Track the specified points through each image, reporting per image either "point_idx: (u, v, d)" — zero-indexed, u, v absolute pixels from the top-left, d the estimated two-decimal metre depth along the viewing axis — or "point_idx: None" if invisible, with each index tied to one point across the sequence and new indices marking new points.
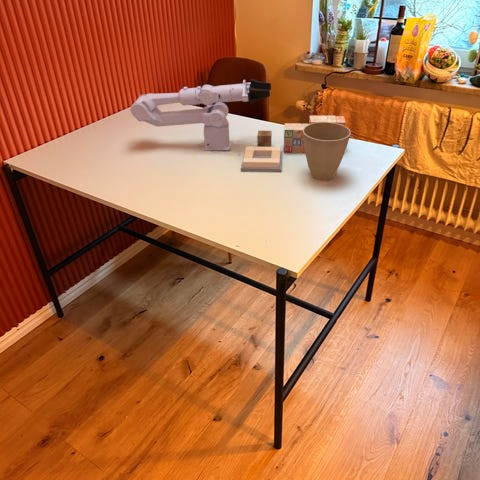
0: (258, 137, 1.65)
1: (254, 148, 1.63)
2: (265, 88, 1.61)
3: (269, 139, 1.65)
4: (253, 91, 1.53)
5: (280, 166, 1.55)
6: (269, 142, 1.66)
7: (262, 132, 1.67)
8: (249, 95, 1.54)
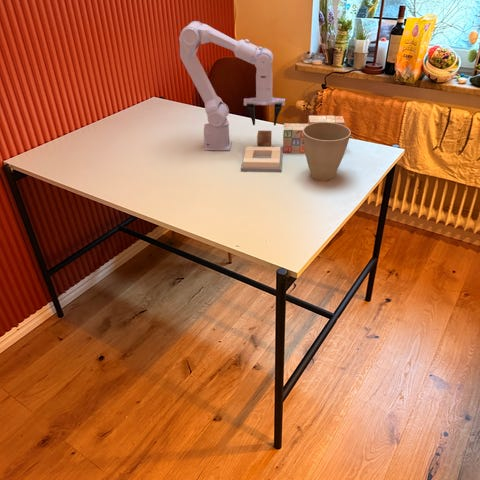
0: (258, 137, 1.65)
1: (254, 148, 1.63)
2: None
3: (269, 139, 1.65)
4: None
5: (280, 166, 1.55)
6: (269, 142, 1.66)
7: (262, 132, 1.67)
8: (247, 106, 1.61)
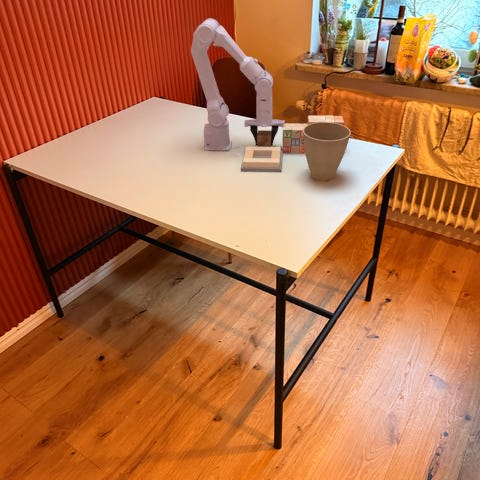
0: (258, 137, 1.65)
1: (254, 148, 1.63)
2: None
3: (269, 139, 1.65)
4: None
5: (280, 166, 1.55)
6: (269, 142, 1.66)
7: (262, 132, 1.67)
8: None
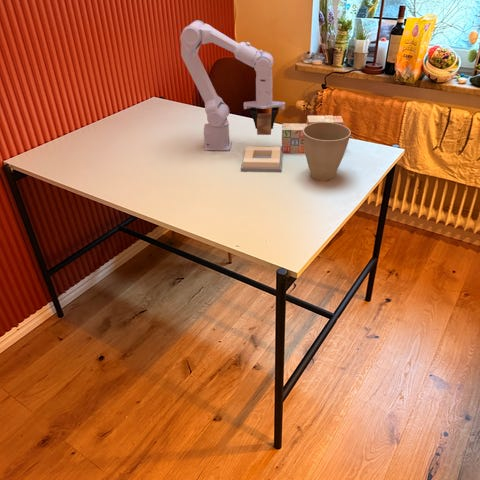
0: (258, 120, 1.60)
1: (254, 148, 1.63)
2: None
3: (269, 122, 1.60)
4: None
5: (280, 166, 1.55)
6: (269, 125, 1.61)
7: (262, 115, 1.63)
8: None
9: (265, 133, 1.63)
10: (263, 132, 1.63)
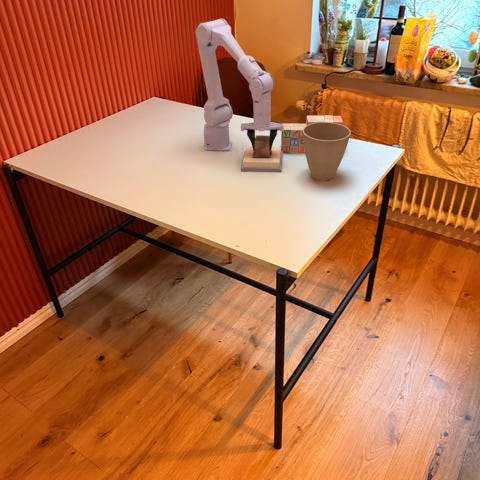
0: (256, 142, 1.54)
1: None
2: None
3: (267, 144, 1.54)
4: None
5: (280, 166, 1.55)
6: (267, 147, 1.55)
7: (260, 137, 1.56)
8: None
9: (263, 155, 1.57)
10: (261, 154, 1.56)
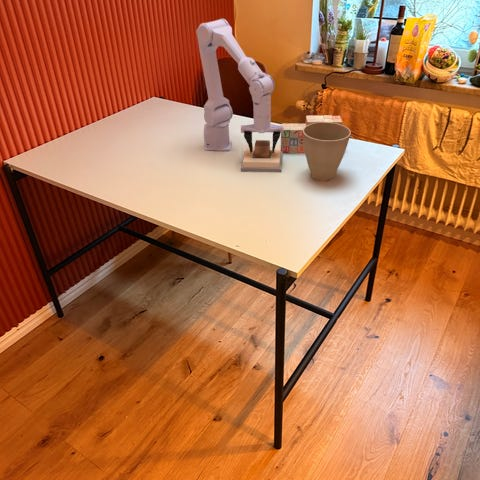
0: (255, 147, 1.55)
1: (254, 148, 1.63)
2: None
3: (267, 149, 1.55)
4: None
5: (280, 166, 1.55)
6: (267, 153, 1.56)
7: (260, 142, 1.57)
8: None
9: None
10: None
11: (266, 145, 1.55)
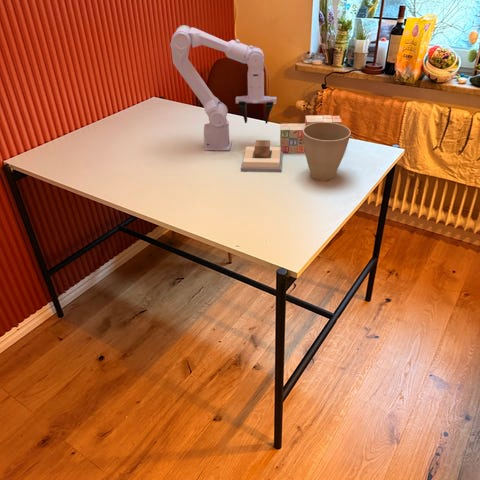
0: (255, 147, 1.55)
1: (254, 148, 1.63)
2: None
3: (267, 149, 1.55)
4: None
5: (280, 166, 1.55)
6: (267, 153, 1.56)
7: (260, 142, 1.57)
8: None
9: None
10: None
11: (266, 145, 1.55)
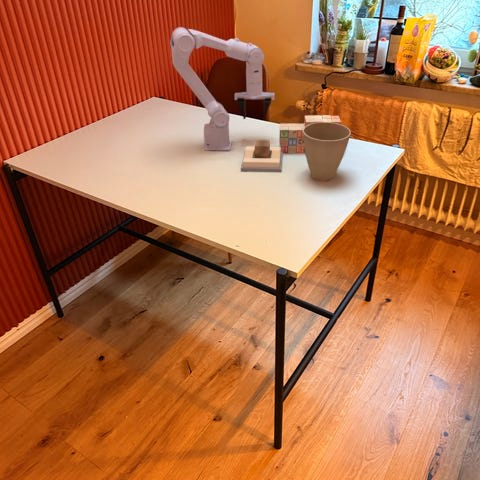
0: (255, 147, 1.55)
1: (254, 148, 1.63)
2: None
3: (267, 149, 1.55)
4: None
5: (280, 166, 1.55)
6: (267, 153, 1.56)
7: (260, 142, 1.57)
8: None
9: None
10: None
11: (266, 145, 1.55)
